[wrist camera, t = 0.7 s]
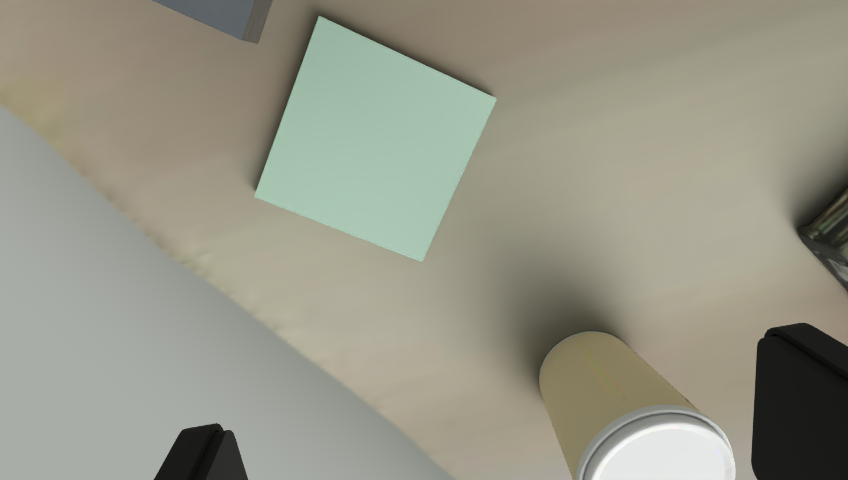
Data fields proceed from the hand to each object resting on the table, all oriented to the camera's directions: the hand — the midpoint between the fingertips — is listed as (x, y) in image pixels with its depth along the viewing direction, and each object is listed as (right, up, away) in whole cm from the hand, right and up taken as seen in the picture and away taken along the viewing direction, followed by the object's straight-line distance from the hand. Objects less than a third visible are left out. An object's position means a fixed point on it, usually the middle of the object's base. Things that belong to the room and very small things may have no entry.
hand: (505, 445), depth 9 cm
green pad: (-5, +10, +26) cm, 28 cm away
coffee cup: (+11, -7, +33) cm, 35 cm away
